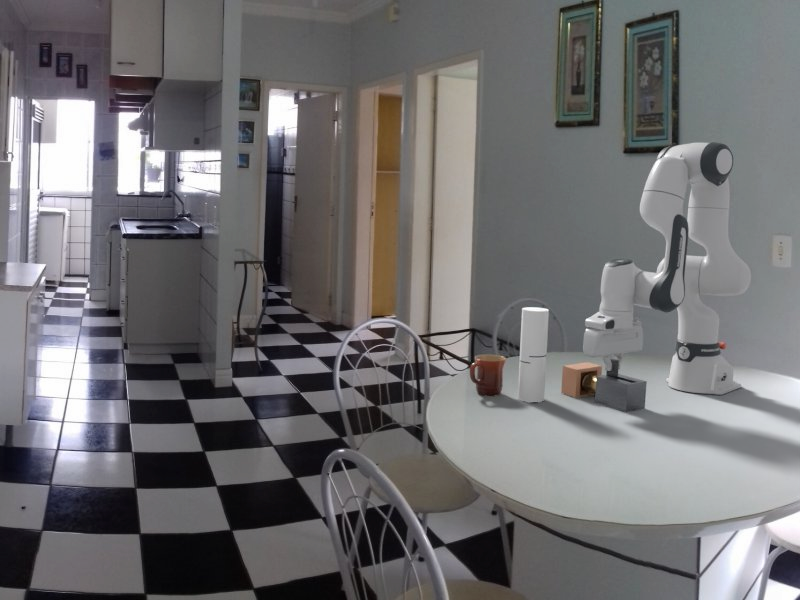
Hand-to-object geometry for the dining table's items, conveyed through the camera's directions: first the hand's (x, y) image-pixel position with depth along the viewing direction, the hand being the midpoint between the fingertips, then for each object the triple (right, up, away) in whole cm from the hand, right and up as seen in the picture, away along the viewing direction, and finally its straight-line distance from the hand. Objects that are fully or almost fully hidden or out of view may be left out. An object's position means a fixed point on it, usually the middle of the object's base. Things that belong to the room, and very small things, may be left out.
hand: (612, 369), depth 217 cm
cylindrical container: (-22, -8, +3) cm, 23 cm away
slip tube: (-2, -7, +4) cm, 8 cm away
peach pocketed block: (-6, -8, +10) cm, 14 cm away
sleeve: (+1, -9, -1) cm, 10 cm away
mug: (-34, -8, +7) cm, 35 cm away
